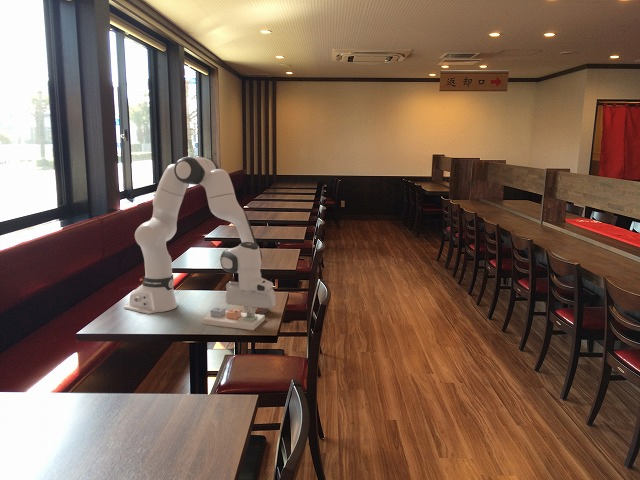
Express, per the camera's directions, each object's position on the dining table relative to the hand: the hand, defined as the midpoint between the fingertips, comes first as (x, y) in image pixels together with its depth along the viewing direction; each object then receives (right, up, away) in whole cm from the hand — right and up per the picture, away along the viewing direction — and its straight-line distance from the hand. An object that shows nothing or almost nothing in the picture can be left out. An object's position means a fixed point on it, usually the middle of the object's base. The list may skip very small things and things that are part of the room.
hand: (250, 316), depth 205 cm
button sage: (0, -3, +1) cm, 3 cm away
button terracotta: (-7, -1, +2) cm, 7 cm away
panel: (-7, -3, +2) cm, 8 cm away
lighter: (+3, -1, +14) cm, 14 cm away
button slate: (-14, -1, +4) cm, 14 cm away
